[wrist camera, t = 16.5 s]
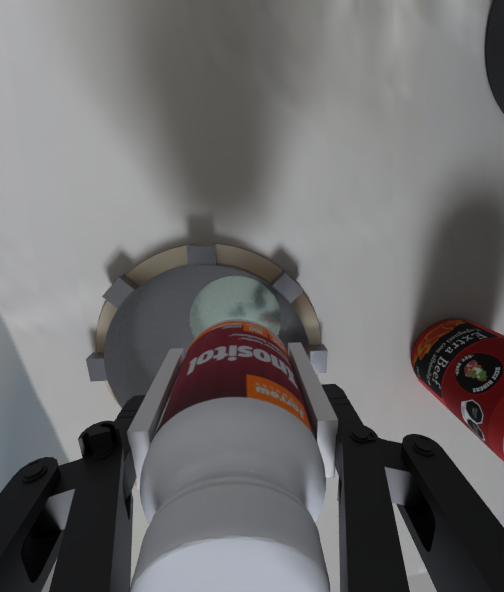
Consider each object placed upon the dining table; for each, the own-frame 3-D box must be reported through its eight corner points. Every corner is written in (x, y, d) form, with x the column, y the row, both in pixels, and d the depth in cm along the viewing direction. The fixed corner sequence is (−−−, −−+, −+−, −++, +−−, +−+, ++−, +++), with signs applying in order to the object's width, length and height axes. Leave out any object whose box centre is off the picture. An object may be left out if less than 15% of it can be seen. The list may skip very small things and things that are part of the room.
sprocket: (47, 364, 26) (-29, 422, 18) (199, 187, 22) (178, 174, 15) (219, 481, 30) (212, 565, 23) (368, 352, 26) (415, 404, 19)
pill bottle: (295, 320, 16) (399, 514, 6) (280, 409, 18) (339, 686, 7) (187, 310, 16) (85, 502, 5) (182, 402, 18) (97, 689, 7)
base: (75, 248, 23) (74, 248, 23) (325, 239, 24) (326, 239, 24) (117, 450, 29) (116, 452, 29) (317, 439, 30) (317, 441, 30)
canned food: (447, 300, 26) (589, 360, 15) (503, 344, 27) (667, 427, 17) (391, 362, 27) (484, 454, 17) (446, 400, 29) (564, 507, 18)
